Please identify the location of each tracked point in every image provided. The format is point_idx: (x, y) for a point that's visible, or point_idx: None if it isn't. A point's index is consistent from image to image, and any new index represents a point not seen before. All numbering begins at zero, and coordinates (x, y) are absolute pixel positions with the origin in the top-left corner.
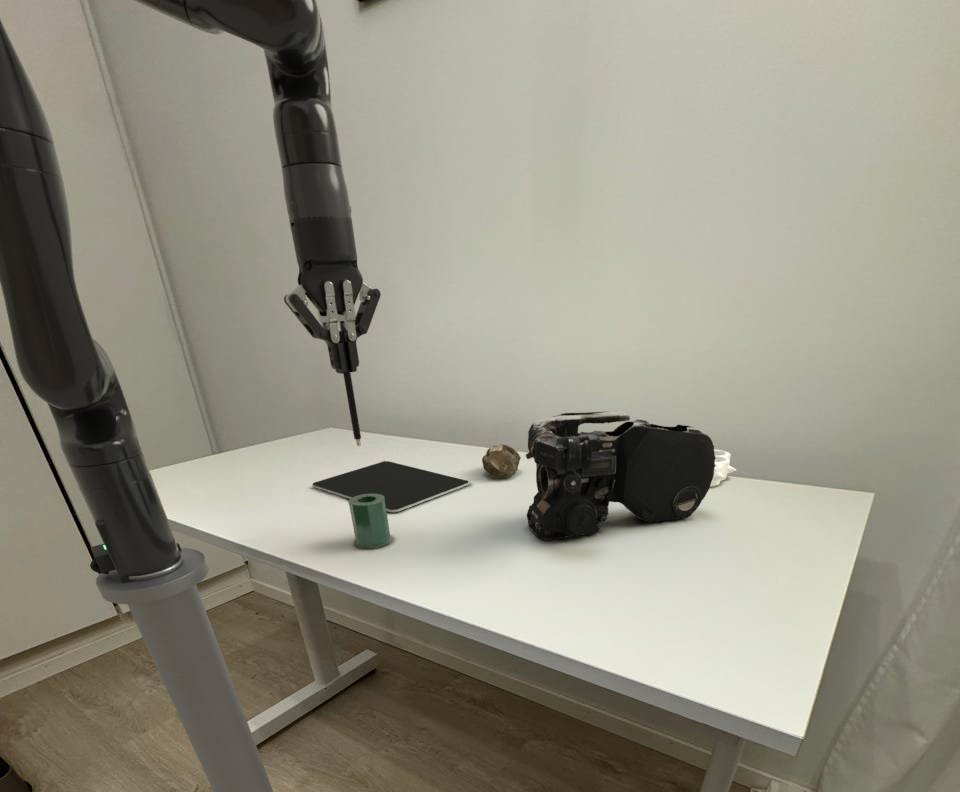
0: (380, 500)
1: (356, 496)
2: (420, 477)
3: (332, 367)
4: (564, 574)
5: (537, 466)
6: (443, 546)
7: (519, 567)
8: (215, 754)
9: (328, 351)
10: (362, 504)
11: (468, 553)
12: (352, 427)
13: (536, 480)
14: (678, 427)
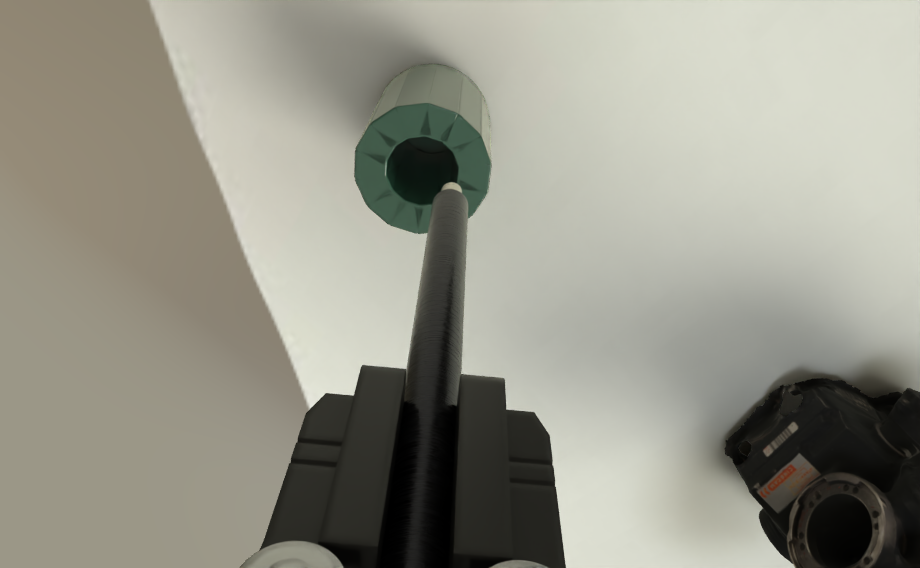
0: None
1: (412, 110)
2: None
3: (320, 403)
4: (604, 549)
5: (880, 521)
6: (551, 297)
7: (575, 484)
8: None
9: (278, 498)
10: (381, 206)
11: (560, 370)
12: (430, 222)
13: (861, 482)
14: None
